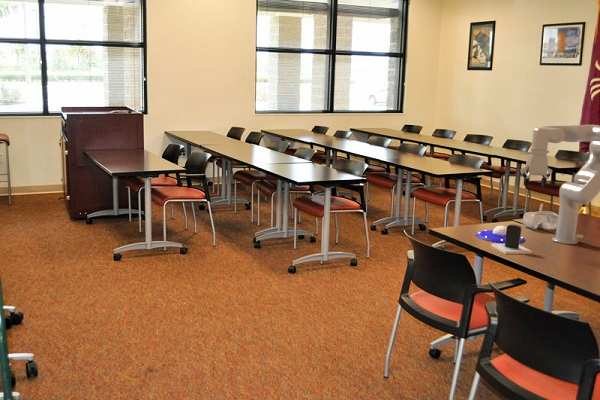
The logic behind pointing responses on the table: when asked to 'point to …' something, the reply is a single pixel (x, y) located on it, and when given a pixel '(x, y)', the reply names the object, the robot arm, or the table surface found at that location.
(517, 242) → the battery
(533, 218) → the vr headset
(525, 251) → the plate
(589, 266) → the table surface
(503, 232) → the toy spaceship
